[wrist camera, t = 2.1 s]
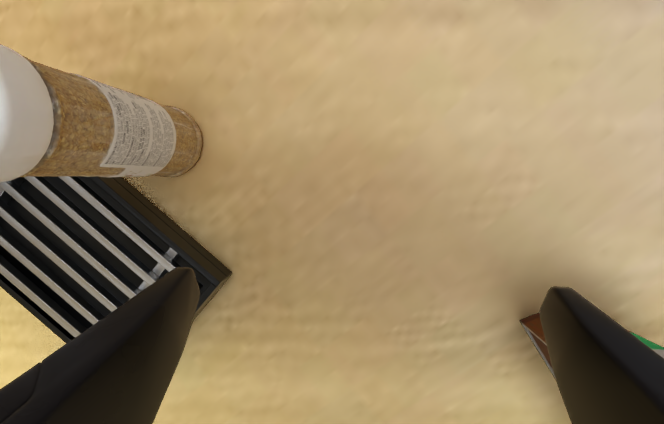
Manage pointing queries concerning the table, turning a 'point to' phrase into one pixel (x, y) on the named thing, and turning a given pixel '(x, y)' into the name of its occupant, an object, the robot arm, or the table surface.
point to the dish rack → (90, 249)
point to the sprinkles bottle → (86, 127)
